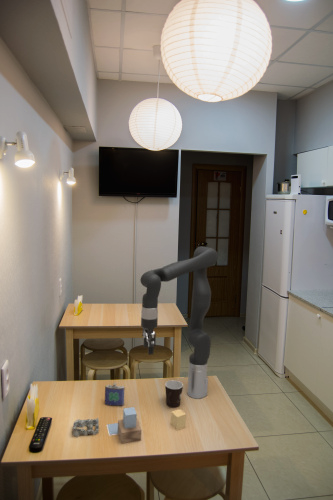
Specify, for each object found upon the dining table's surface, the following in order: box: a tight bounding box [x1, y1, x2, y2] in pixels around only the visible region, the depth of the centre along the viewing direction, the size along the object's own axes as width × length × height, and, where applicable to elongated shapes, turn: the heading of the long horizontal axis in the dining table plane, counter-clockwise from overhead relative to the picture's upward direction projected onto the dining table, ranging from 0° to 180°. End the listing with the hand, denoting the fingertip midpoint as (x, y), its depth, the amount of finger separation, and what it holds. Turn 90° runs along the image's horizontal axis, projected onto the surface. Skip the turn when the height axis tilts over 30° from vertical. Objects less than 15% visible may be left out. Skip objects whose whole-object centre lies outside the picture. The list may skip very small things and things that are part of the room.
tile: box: [106, 422, 119, 436], centre depth 150 cm, size 8×8×1 cm
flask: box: [104, 382, 125, 407], centre depth 168 cm, size 9×3×11 cm, turn 88°
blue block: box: [122, 406, 138, 429], centre depth 145 cm, size 4×4×6 cm
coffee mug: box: [164, 379, 184, 409], centre depth 170 cm, size 12×9×10 cm
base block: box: [117, 417, 142, 445], centre depth 146 cm, size 8×8×5 cm
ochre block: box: [170, 408, 187, 431], centre depth 154 cm, size 4×4×6 cm
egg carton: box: [72, 418, 100, 438], centre depth 148 cm, size 11×8×4 cm
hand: (148, 350), depth 164 cm, fingers open, 8 cm apart
